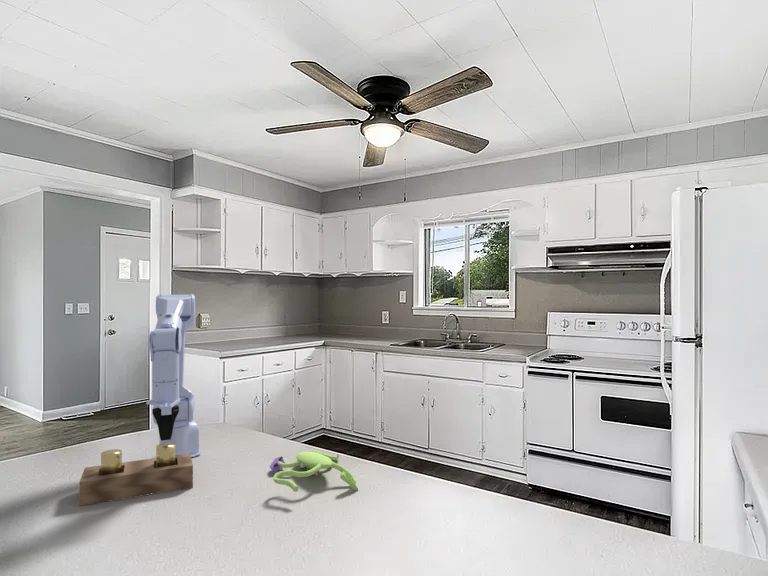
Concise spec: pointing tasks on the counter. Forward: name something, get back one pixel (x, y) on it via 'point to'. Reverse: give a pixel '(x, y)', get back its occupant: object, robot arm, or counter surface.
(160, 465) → the peg
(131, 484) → the block
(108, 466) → the peg
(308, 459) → the figurine
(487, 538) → the counter surface
